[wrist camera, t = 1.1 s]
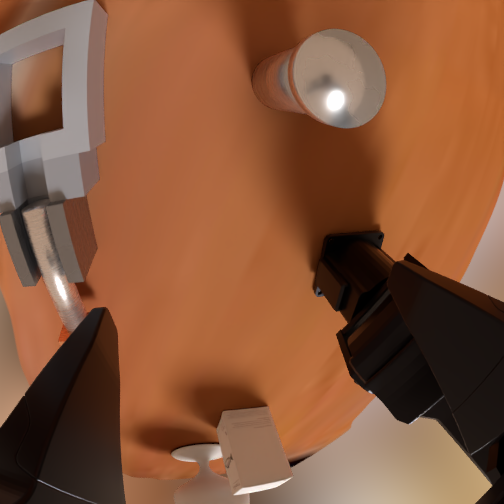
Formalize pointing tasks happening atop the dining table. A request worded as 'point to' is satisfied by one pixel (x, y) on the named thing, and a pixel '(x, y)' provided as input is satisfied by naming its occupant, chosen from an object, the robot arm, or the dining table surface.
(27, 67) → the dining table surface
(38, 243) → the lock pin
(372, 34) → the dining table surface
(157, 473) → the dining table surface
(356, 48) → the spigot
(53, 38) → the socket
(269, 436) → the supplement box
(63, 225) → the pin mount
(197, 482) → the chalice
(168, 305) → the dining table surface
